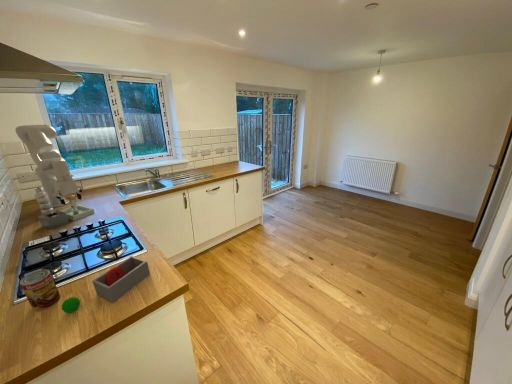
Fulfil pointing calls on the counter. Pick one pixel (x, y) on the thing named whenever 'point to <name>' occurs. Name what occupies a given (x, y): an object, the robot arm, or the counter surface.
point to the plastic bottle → (43, 201)
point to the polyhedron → (70, 304)
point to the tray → (83, 212)
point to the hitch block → (53, 219)
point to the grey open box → (122, 279)
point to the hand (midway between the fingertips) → (72, 201)
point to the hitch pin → (73, 204)
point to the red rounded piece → (109, 274)
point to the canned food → (40, 289)
